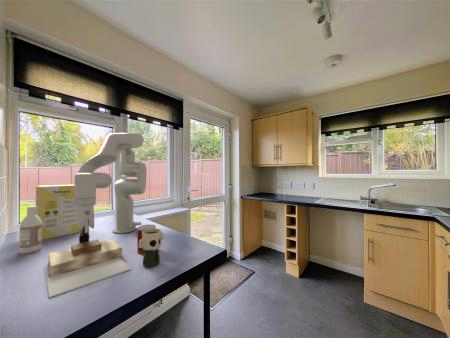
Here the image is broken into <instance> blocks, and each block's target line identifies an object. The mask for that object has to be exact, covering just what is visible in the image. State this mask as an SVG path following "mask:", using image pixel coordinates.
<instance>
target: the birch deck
mask: <svg viewBox="0 0 450 338" xmlns="http://www.w3.org/2000/svg"><path fill="white" fill-rule="evenodd" d="M100 243H101V244H102V245H101V250H98V251H94V252H90V253H86V254H82V255H77V256H73V254H72V252H71V248H67V249H62V250H58V251H52V252H48V268H49V269H48V270H49V273H50V274H49V275H50V277H54V276H57V275H61V274H64V273H67V272H71V271H74V270H78V269H81V268H85V267H88V266H91V265H95V264H98V263H102V262H105V261H109V260H112V259H115V258H119V257H120V258H122V257H123V247H122V246H121V245H120V244H119V243H117V242H116V241H115V240H114V239H113V238H112V239H108V240H103V241H100Z"/></svg>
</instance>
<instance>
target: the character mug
mask: <svg viewBox="0 0 450 338" xmlns="http://www.w3.org/2000/svg"><path fill="white" fill-rule="evenodd" d="M163 240H164V232H163V231H162V229H160V228H156V229H147V230H144V231H143V232H142V239H140V240H139V248H142V249H144V250H145V252H144V254H143V258H142V266H144V267H146V268H153V267H155V266H156V264H157V265H159V264H161V258H160V252H159V248H161V246H162V241H163Z"/></svg>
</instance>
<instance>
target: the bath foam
mask: <svg viewBox="0 0 450 338" xmlns="http://www.w3.org/2000/svg"><path fill="white" fill-rule="evenodd" d="M18 239H19V241H18V243H19V246H18V247H19V248H18V253H19V254H23V255H24V254H30V253H35V252H37V251H40V250H41V249H42V242H43V239H42V221H41V219H40V218H39V216H38V215H37V214H36V205H31V206H27V207H26V215H25V217H24V218H23V219H22V220H21V222H20V225H19V238H18Z"/></svg>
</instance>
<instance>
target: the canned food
mask: <svg viewBox="0 0 450 338" xmlns="http://www.w3.org/2000/svg"><path fill="white" fill-rule="evenodd" d="M147 229H157V228H156V225H155V224H143V225H142V224H141V225H138V227H137V236H136V237H137V244H136V245H137V246H136V248H137V250H136V251H137V253H138V254H140V255H144V252H145V250H144V249H142V248H139V240H140V239H142V232H143V231H144V230H147Z"/></svg>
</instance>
